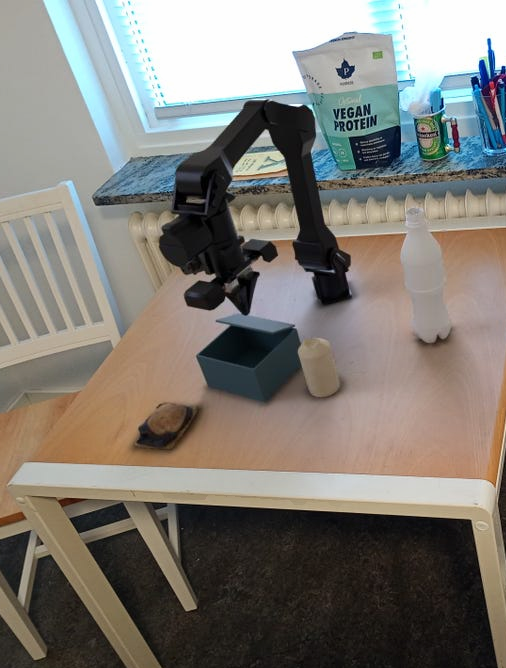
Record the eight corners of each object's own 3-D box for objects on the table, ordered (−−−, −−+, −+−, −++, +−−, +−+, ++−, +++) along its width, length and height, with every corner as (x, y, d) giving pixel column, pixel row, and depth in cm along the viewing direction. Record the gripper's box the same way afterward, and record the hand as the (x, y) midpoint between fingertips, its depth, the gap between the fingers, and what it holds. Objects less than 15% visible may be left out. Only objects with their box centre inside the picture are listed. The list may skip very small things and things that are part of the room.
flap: (238, 315, 137) (238, 313, 137) (295, 326, 130) (295, 324, 130) (215, 322, 132) (215, 319, 132) (273, 334, 125) (273, 332, 125)
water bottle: (456, 324, 135) (440, 200, 120) (447, 347, 130) (430, 220, 115) (419, 323, 138) (399, 201, 123) (409, 345, 132) (387, 221, 118)
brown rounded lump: (162, 406, 132) (155, 390, 129) (202, 409, 129) (195, 393, 126) (130, 447, 124) (122, 431, 122) (172, 451, 121) (165, 435, 119)
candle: (346, 381, 127) (334, 334, 122) (328, 400, 124) (315, 353, 118) (320, 375, 130) (308, 329, 124) (303, 393, 127) (289, 347, 121)
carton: (250, 347, 142) (239, 316, 137) (305, 360, 135) (296, 328, 130) (208, 387, 134) (195, 355, 129) (265, 402, 127) (253, 370, 122)
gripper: (219, 206, 129) (244, 281, 138) (146, 258, 117) (178, 336, 127) (267, 211, 124) (290, 289, 133) (195, 266, 112) (225, 347, 121)
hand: (246, 314), depth 128 cm, fingers closed
